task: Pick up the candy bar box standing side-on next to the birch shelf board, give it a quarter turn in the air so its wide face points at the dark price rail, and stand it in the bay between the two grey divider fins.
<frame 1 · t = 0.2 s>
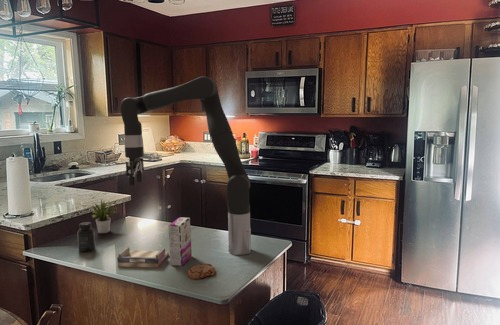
hand: (136, 183, 162), 29 cm above the counter, fingers open, 8 cm apart
supplement bottle: (87, 250, 165), on the counter
cookie: (201, 274, 140), on the counter
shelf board: (144, 260, 153), on the counter
candy bar box: (181, 261, 152), on the counter
house plant: (102, 232, 189), on the counter
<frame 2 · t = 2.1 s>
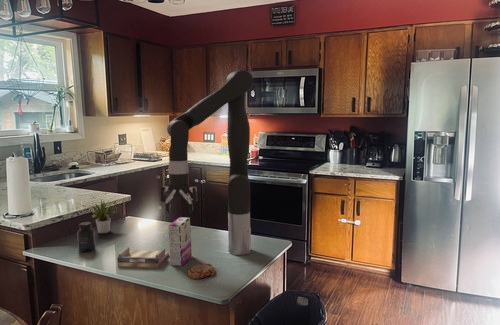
hand: (179, 212, 150), 20 cm above the counter, fingers open, 8 cm apart
nothing on the counter moved.
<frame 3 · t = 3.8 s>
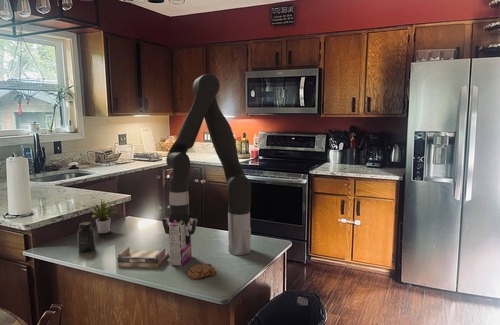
hand: (180, 243, 151), 7 cm above the counter, fingers closed on candy bar box, 5 cm apart
candy bar box: (181, 261, 152), on the counter, touching gripper
everything else where it was.
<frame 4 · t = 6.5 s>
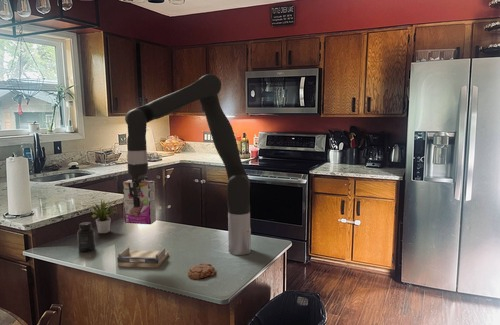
hand: (139, 205, 148), 23 cm above the counter, fingers closed on candy bar box, 5 cm apart
candy bar box: (140, 222, 149), point 16 cm above the counter, touching gripper
everything else where it was.
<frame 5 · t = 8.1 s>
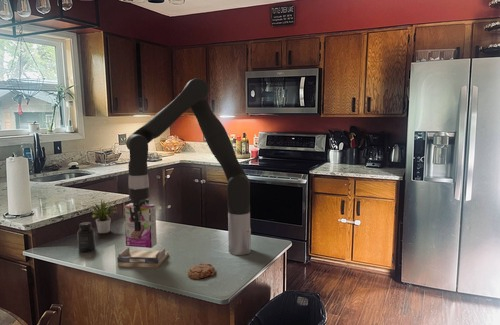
hand: (140, 228, 149), 14 cm above the counter, fingers closed on candy bar box, 5 cm apart
candy bar box: (141, 245, 150), point 7 cm above the counter, touching gripper
everything else where it was.
when the fingers open (9 cm above the counter, at t = 9.5 s): candy bar box stays where it is, resting on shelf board.
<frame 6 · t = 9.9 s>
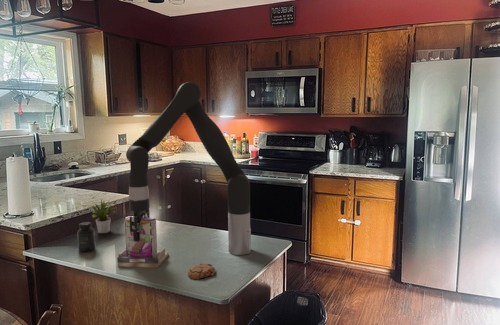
hand: (141, 237, 149), 10 cm above the counter, fingers open, 8 cm apart
candy bar box: (142, 259, 151), point 1 cm above the counter, touching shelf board
everything else where it was.
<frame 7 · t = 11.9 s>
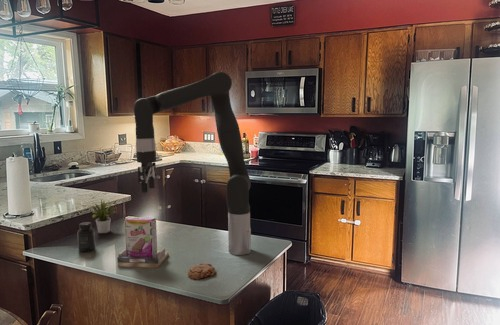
hand: (148, 190, 152), 28 cm above the counter, fingers open, 8 cm apart
nothing on the counter moved.
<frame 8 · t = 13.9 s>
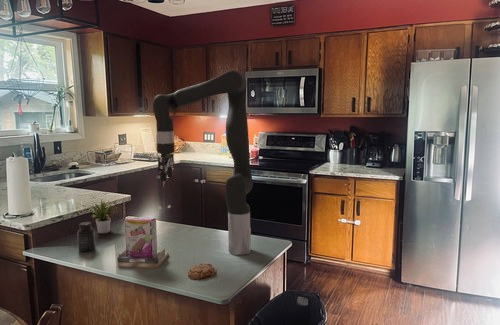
hand: (166, 179, 165), 30 cm above the counter, fingers open, 8 cm apart
nothing on the counter moved.
at the end: candy bar box 0.1 cm from the target spot on the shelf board, point 1.3 cm above the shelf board's base; candy bar box tilted 0°; the gripper is holding nothing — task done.
